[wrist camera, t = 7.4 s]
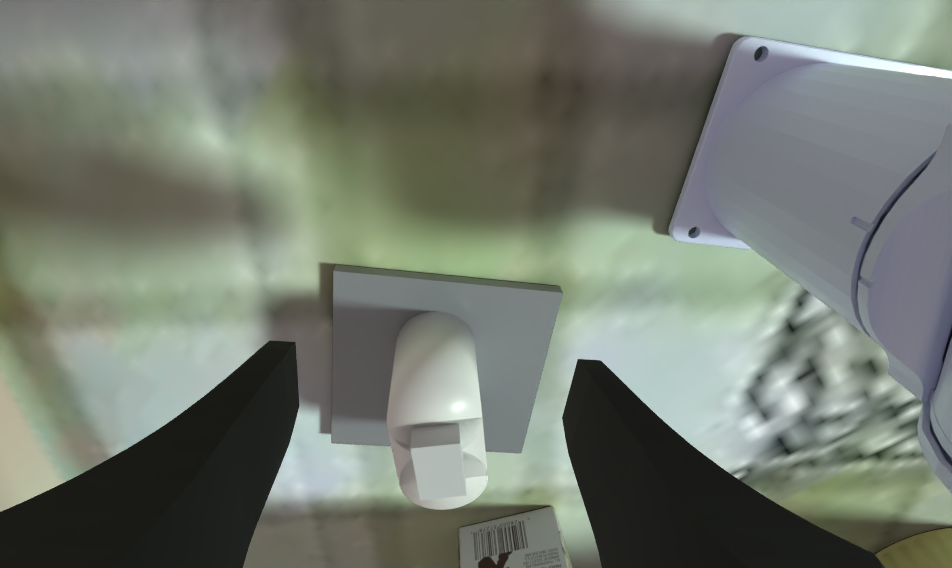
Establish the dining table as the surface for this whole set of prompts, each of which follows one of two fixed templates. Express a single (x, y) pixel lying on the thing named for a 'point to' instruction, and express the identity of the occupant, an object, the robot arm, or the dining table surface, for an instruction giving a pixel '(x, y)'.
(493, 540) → the brown food box
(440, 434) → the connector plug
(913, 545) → the potted cactus
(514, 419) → the slate coaster
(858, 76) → the robot arm
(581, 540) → the dining table surface
